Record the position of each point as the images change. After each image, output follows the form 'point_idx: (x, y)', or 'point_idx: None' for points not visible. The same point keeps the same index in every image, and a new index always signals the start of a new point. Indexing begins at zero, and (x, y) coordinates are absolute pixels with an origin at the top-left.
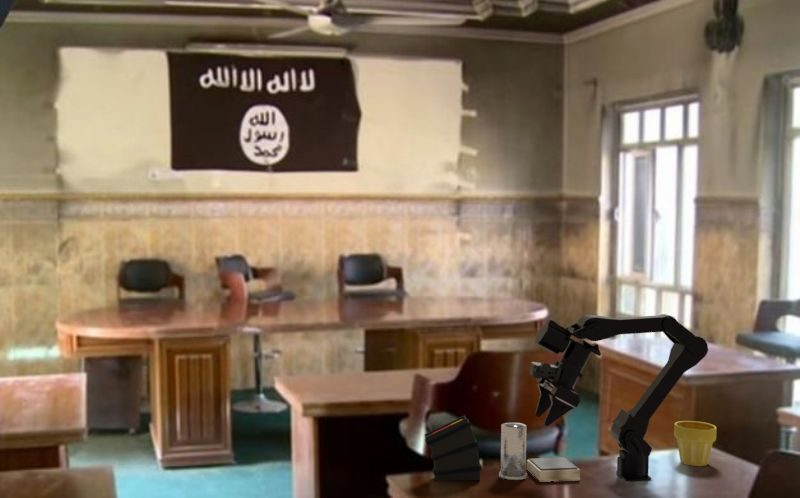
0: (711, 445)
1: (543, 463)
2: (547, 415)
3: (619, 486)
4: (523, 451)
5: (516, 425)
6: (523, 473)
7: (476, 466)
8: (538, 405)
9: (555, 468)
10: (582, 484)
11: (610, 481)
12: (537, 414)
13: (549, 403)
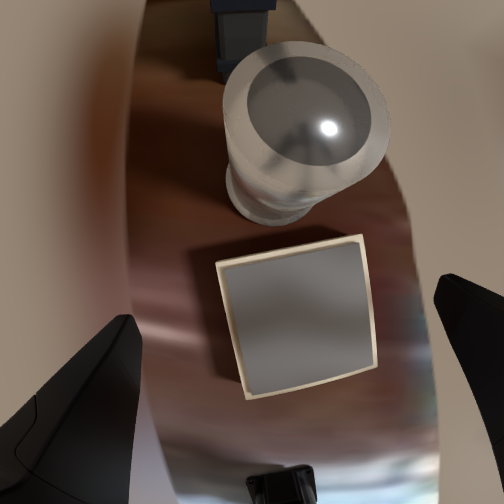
0: None
1: (298, 287)
2: (71, 364)
3: (202, 458)
4: (245, 193)
5: (316, 122)
6: (246, 208)
7: (218, 53)
8: (497, 312)
9: (236, 323)
10: (207, 384)
11: (243, 450)
12: (445, 292)
13: (494, 410)
